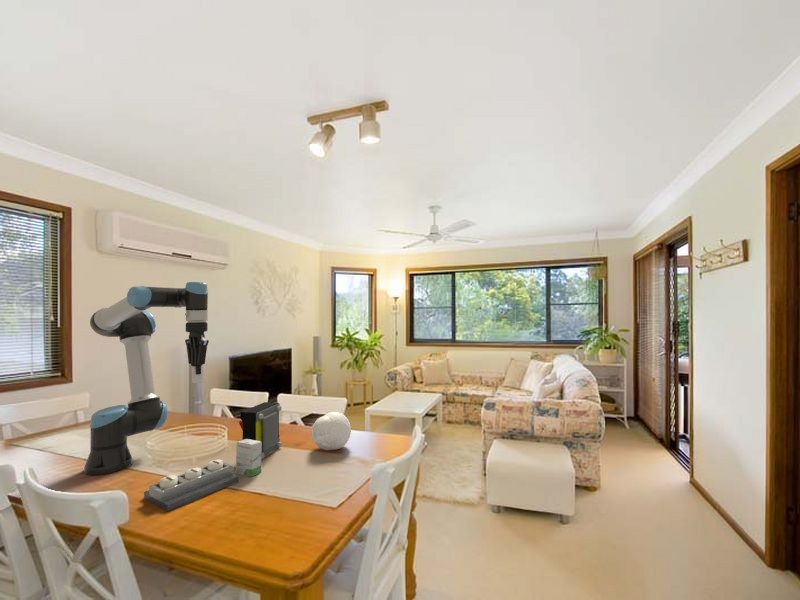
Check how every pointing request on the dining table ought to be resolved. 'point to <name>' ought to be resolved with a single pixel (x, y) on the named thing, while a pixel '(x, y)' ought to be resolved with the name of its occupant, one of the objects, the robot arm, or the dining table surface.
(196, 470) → the knob mid
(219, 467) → the knob far
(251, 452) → the ink box
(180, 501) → the mount
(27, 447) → the dining table surface
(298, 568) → the dining table surface
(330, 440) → the decorative orb
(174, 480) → the knob near
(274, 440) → the electrical component
